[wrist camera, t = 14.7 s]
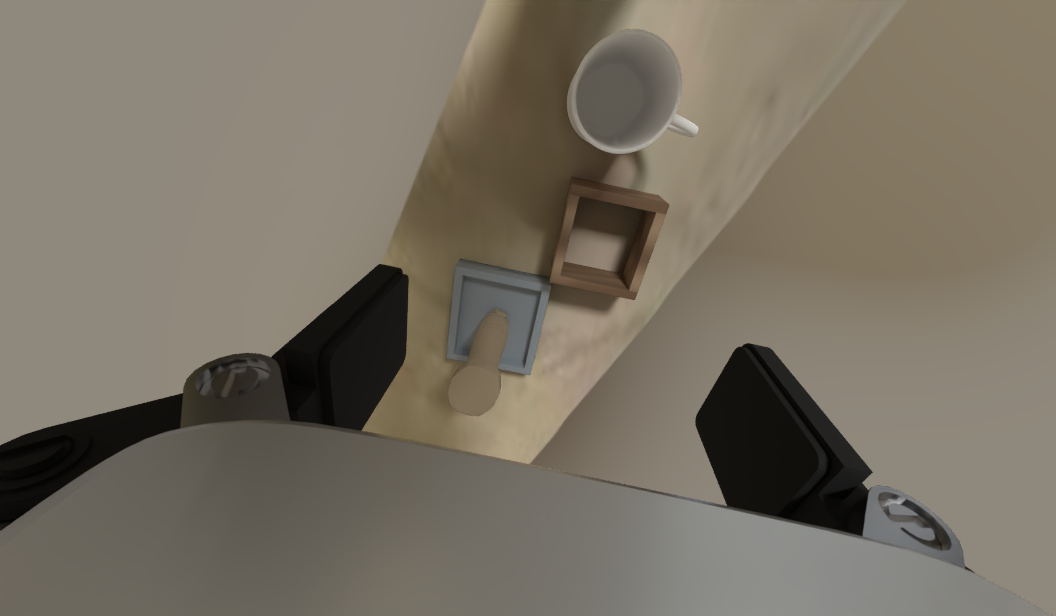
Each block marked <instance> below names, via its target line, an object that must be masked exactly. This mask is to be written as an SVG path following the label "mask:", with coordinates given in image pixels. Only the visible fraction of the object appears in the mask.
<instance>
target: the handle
mask: <svg viewBox="0 0 1056 616" xmlns="http://www.w3.org/2000/svg"><path fill="white" fill-rule="evenodd" d="M508 327H509V321H508V320H507V313H506V312H505V311H504V312H503V311H500V310H499V309H498V308H495V309H494V310H493V311H492V312H488V313H487V314H486V315H485V317H484V319H483V321H482V322H481V324H480V326H479V328H478V330H477V332H476V334H475V337H474V340H473V343H472V347H471V350H470V354H469V357H468V360H467V362H465V363H464V364H463V365H461V366H460V367H459V368H458V369H457V370H456V372H455V374H454V376H453V378H452V380H451V383H450V385H449V388H448V398H449V404H450V405H451V406H452V407H453V408H454V409H455V410H457V411H458V412H460V413H462V414H465V415H469V416H480V415H482V414H483V413H485V412H487V411H488V410H490V409H491V408H492V407H493V405H494V404H495V402H496V400H497V398H498V396H499V393H500V389H501V375H500V371H499V370H498V369H497V368H498V365H499V362H500V360H501V357H502V354H503V351H504V349H505V346H506V341H507V337H508Z"/></svg>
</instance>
